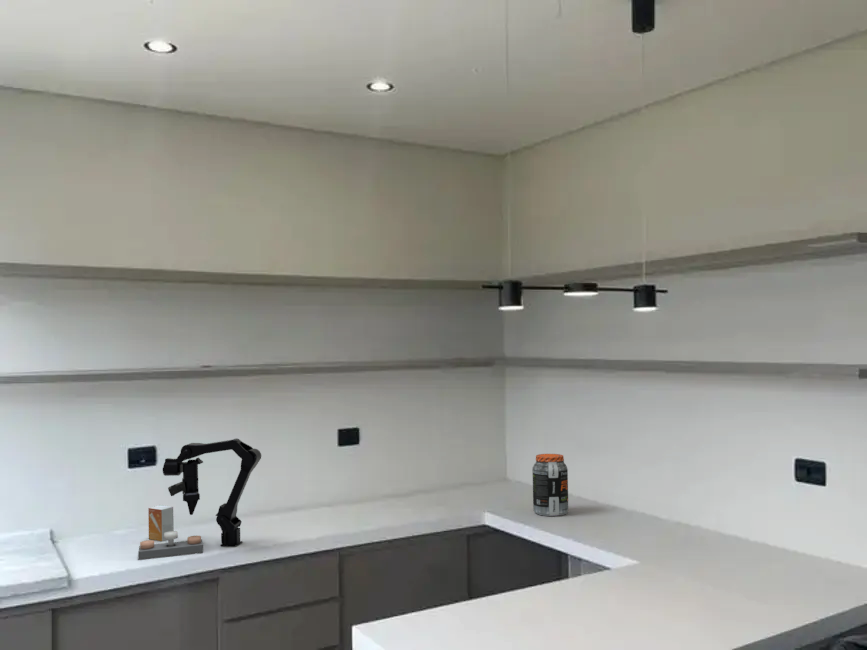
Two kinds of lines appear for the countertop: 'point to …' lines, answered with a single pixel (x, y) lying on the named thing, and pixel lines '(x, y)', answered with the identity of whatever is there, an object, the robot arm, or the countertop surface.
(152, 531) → the small box
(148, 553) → the knob strip
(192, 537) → the knob
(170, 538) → the knob middle
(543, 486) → the supplement tub
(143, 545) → the knob
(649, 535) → the countertop surface
